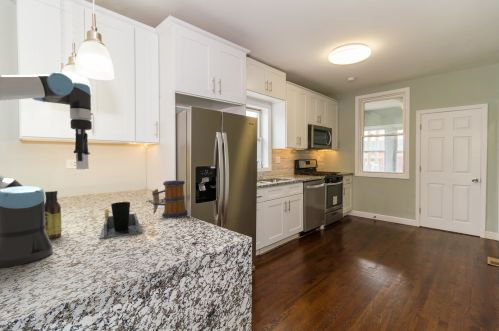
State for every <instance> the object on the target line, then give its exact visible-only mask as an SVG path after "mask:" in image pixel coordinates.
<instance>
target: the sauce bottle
mask: <svg viewBox="0 0 499 331" xmlns="http://www.w3.org/2000/svg"><path fill="white" fill-rule="evenodd" d="M44 195H45V201H44V207H45V231H46V233H47V235H48V237H49V238H50V239H56V238H59V237H61V235H62V232H63V230H62V210H61V208H62V206H61V204H60V203H59V201H58V190H55V189H53V190H46V191H44Z"/></svg>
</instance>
